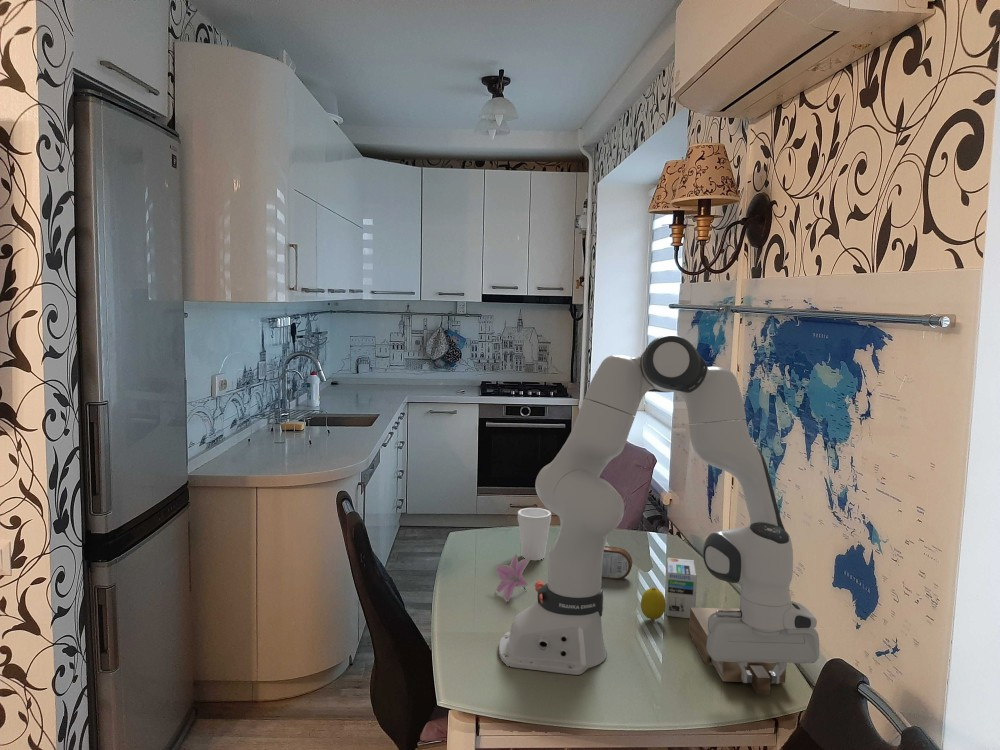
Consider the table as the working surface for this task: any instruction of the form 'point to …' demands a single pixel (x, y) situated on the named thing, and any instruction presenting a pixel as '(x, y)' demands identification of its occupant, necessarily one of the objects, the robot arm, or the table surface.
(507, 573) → the lily
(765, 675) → the tray
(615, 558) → the tin
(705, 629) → the sleeve
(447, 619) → the table surface
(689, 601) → the light bulb box
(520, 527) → the foam cup
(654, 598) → the lemon
